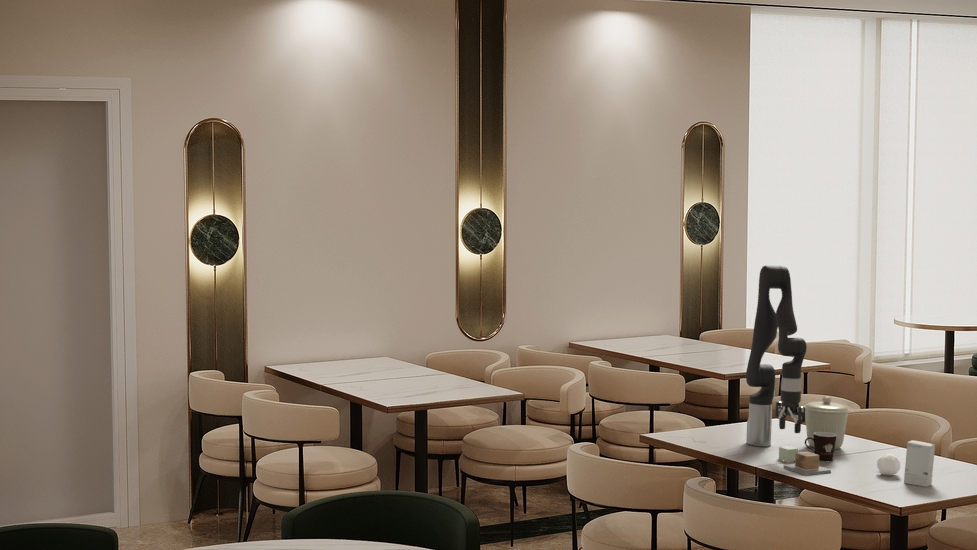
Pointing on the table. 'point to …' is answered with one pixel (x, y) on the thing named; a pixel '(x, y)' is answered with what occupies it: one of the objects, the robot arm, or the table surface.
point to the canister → (826, 419)
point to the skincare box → (919, 463)
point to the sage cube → (787, 453)
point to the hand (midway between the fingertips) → (789, 431)
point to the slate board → (807, 472)
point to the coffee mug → (823, 445)
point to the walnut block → (807, 460)
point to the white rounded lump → (888, 464)
